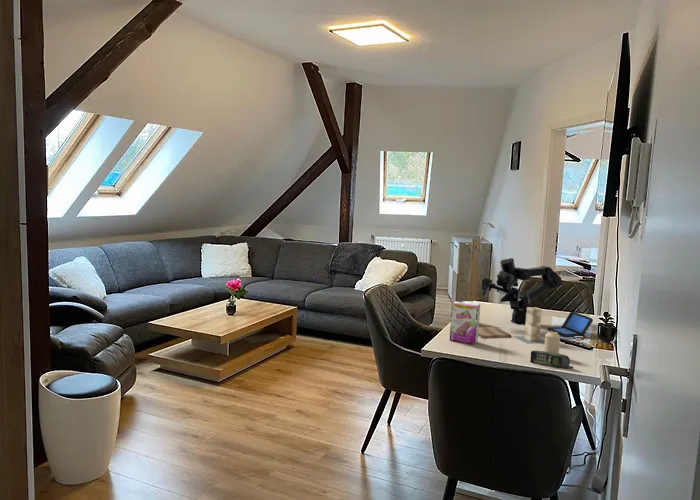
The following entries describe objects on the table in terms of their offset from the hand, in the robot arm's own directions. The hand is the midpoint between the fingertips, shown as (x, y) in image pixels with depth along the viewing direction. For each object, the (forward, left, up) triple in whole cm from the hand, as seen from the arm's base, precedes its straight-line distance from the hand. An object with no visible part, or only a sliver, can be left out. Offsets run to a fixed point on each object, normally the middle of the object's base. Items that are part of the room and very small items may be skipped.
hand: (491, 297), depth 249 cm
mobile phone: (+3, +53, -15) cm, 55 cm away
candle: (-4, +43, -15) cm, 45 cm away
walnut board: (+4, +8, -15) cm, 17 cm away
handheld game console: (-35, +11, -16) cm, 40 cm away
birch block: (-10, +19, -15) cm, 26 cm away
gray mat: (-10, +19, -15) cm, 26 cm away
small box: (+4, -11, -15) cm, 20 cm away
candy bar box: (+22, +19, -15) cm, 33 cm away
